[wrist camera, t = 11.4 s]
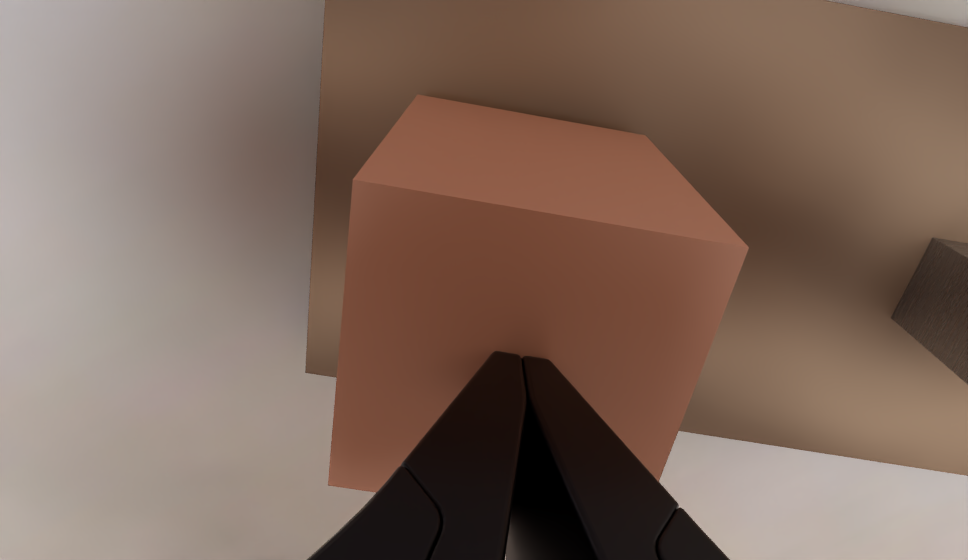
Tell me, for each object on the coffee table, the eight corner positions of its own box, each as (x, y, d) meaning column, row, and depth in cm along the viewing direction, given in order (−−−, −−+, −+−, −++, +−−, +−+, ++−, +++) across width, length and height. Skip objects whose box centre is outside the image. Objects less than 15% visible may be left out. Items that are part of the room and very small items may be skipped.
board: (984, 456, 20) (1011, 482, 19) (316, 350, 19) (305, 372, 18) (1235, 81, 15) (1291, 89, 14) (343, -89, 14) (330, -95, 13)
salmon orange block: (589, 331, 16) (639, 531, 10) (392, 298, 16) (327, 485, 10) (645, 135, 14) (749, 247, 8) (417, 94, 14) (352, 178, 8)
